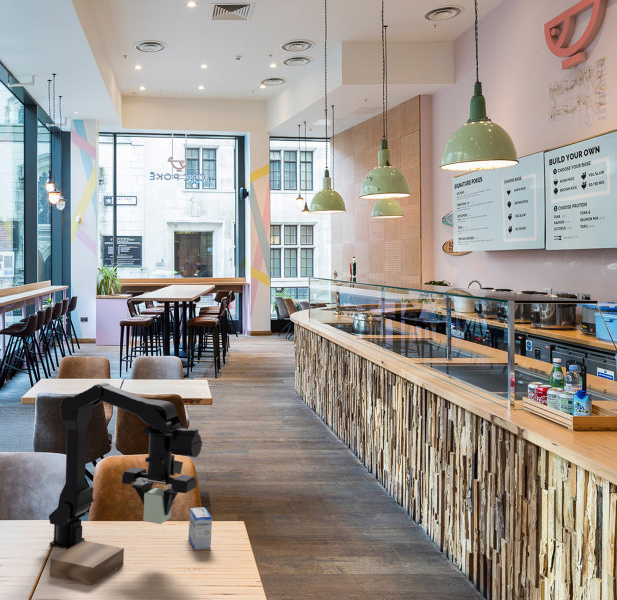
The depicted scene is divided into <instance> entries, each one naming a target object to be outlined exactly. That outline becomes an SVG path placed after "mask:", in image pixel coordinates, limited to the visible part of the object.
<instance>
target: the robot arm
mask: <svg viewBox="0 0 617 600" xmlns="http://www.w3.org/2000/svg"><path fill="white" fill-rule="evenodd" d="M101 402H104V403H106V404H109V405H110V406H113V407H116V408H119V409H122V410H124V411H127V412H129V413H132V414H135V415H136V416H137V417H139V419H140V420H141V421H142V422H144V423H145V424H147V426H146V427H145V428H144V429H143V430H141V434H142V435H143V434H144V435H148V436H149V439H148V440H149V441H148V456H146V457H145V458H144V459H145V462H146V463H147V469H146V468H142V467H135V466H133V467H131V468H129V469H127V470H124V471H123V472H122V474H121V484H126V485H132V486H131V488H132V489H134V490H135V492H136V493H137V495H138V496H139V498H140V501H141V502H142V505H143V506H144V493H146V492H148V491H150V490H152V489H153V485H154V484H160V485H166V486H167V487H168V488H167V489H166V490H165V491H164V512H165V515H168V514H169V511H170V509H171V510H172V507H171V506H173V503H174V501H175V499H176V497H177V495H178V493H181V494H186V493H187V494H188V493H189V492H190V491H192V490H194V489H196V488H197V478H195V476H194V475H187V474H182V469H183V464H184V462H183V461H179V460H175V456H180V457H181V456H182V457H189V458H197V457H198V456H199V455H200V453H201V450H202V447H203V440H202V437H201V434H199V429H198V428H192V429H191V428H185V427H186V426H185V424H184V422H183V421H182V419H181V418H180V416H179V414H178V411H177V408H176V405H175V404H174V403H173V402H171V401H166V400H162V399H150V398H145V397H142V396H140V395H137V394H134V393H132V392H129V391H127V390H123V389H120V388H119V387H115V386H113V385H111V384H110V383H108V382H102V383H98V384H94V385H93V386H91V387H90V388H88V389H86V390H84V391H81V392H79V393H78V394H73V395H70V396H69V395H68V396H66V397H65V398H63V399H62V400H61V402H60V404H59V408H60V409H59V410H60V411H59V412H60V418H61V421H62V424H63V425H64V427H65V429H66V444H65V445H66V447H65V448H66V451H65V453H66V454H65V455H66V456H65V483H64V485H63V488H62V489H61V492H60V493H59V497H58V504H57V507H56V508H55V509H54V510H53V511H52V512H51V513H50V514H49V515H48V520H49V523H50V525H54V526H53V528H54V529H53V540H52V541H50V542H49V546H53V547H59V548H63V549H66V550H67V549H69V548H71V547H73V546H74V545H76V544H78V543H80V542H82V541H86V540H85V539H86V538H85V537H83V525H82V519H81V518H82V517H85V516H86V514H87V511H88V510H89V509H90V508H91V507H92V503H94V501H95V500H94V496H93V495H94V486H89V485H88V484H87V482H86V481H87V480H86V467H87V466H86V463H87V461H86V459H87V457H86V456H87V428H88V426H89V423H90V422H91V419H92V417H93V412H94V408H95V406H97V405H99V404H100V403H101ZM176 474H177V475H179V476H177V477H172V476H175V475H176Z"/></svg>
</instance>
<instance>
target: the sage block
mask: <svg viewBox="0 0 617 600" xmlns="http://www.w3.org/2000/svg"><path fill="white" fill-rule="evenodd" d="M165 490H167V489H165V488H159V487H154V488H151V490H150V491H148V492H146V493H144V505H143V517H142V518H143V520H142V521H143V522H148V523H153V524H157V525H161V524H163V523H165V522H167V521H168V520H169V519H171V518H172V506H173V505H172V506H171V509H170V511H169V514H168V515H165V512H164V491H165Z"/></svg>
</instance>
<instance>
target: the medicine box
mask: <svg viewBox="0 0 617 600" xmlns="http://www.w3.org/2000/svg"><path fill="white" fill-rule="evenodd" d="M188 521H189V523H188V540H189V542H190V544H191V545H192V547H193V548H194V550H195V551H196V550H207V549H211V545H212V526H213V525H212V524H213V517H212V516H211V514H210V512H209V511H208V509H206V507H191V508H190V509H189V520H188Z"/></svg>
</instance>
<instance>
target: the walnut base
mask: <svg viewBox="0 0 617 600" xmlns="http://www.w3.org/2000/svg"><path fill="white" fill-rule="evenodd" d="M124 555H125V548H124V547H119V546H115V545H109V544H103V543H98V542H95V541H87V540H84V541H82V542H80V543H78V544H76V545H74V546H73V547H71V548H69V549H67V548H66V550H64V551H62V552H60V553H59V554H57V555H55V556H53V557H51V558H50V563H49V564H50V566H49V567H50V568H49V576H50V577H54V578H60V579H64V580H68V581H73V582H78V583H83V584H87V585H91V586H92V585H95V584H96V583H98V582H99V581H101V580H102V579H103V577H104V578H106V575H107V576H109V573H110V574H111V573H113V572H114V571H115V569H116V568H117V569H118V567H119V566H120V567H122V566H123V565H124ZM122 564H123V565H122ZM121 565H122V566H121ZM120 567H119V568H120ZM117 569H116V570H117ZM112 571H113V572H112ZM101 578H102V579H101ZM100 579H101V580H100ZM98 580H99V581H98ZM97 581H98V582H97ZM94 583H95V584H94Z"/></svg>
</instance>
